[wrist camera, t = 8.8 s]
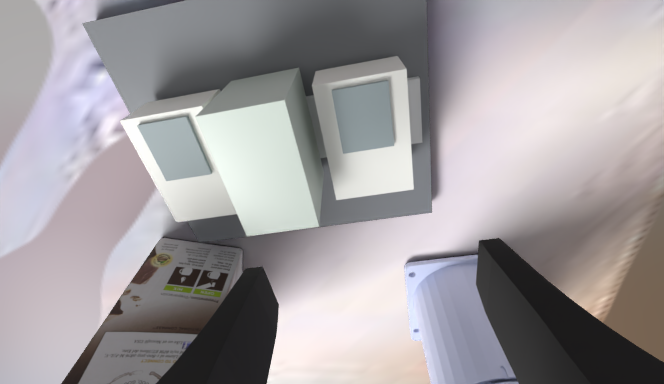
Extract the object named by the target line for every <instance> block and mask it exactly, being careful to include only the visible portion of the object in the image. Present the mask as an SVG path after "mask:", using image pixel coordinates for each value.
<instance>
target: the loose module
mask: <svg viewBox="0 0 664 384" xmlns="http://www.w3.org/2000/svg"><path fill="white" fill-rule="evenodd" d="M195 118H196V120H197V123H198V125H199V127H200V130H201V132H202V134H203V136H204V139H205V141H206V143H207V146H208V148H209V150H210V153H211V155H212V157H213V159H214V162H215V164H216V166H217V169H218V171H219V173H220V176H221V178H222V180H223V183H224V185H225V187H226V189H227V192H228V194H229V196H230V199H231V201H232V203H233V206H234V208H235V210H236V213H237V215H238V217H239V219H240V222H241V224H242V226H243V229H244V231H245V233H246V236H247V237H248V236H255V235H262V234H269V233H277V232H284V231H291V230H299V229H306V228H313V227H319V224H320V212H321V200H322V188H323V176H324V171H323V167H322V163H321V158H320V154H319V150H318V146H317V141H316V137H315V133H314V129H313V125H312V120H311V116H310V112H309V108H308V103H307V99H306V95H305V91H304V87H303V82H302V78H301V74H300V70H299V68H294V69H289V70H284V71H279V72H274V73H269V74H264V75H259V76H254V77H249V78H244V79H239V80H234V81H231V82H230V83H229V84H228V85H227V86H226V87H225V88H224V89H223V90H222V91H221V92H220V93H219V94H218V95H217V96H216V97H215V98H214V99H213V100H212V101H211V102H209V103H208V104H207V105H206V106H205V107H204V108H203V109H202V110H201V111H200V112H199V113H198V114H197V115H196V116H195Z"/></svg>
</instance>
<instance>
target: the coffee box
mask: <svg viewBox="0 0 664 384" xmlns="http://www.w3.org/2000/svg"><path fill="white" fill-rule="evenodd" d="M242 259H243V251H242V249H239V248H233V247H226V246H218V245H212V244H204V243H197V242H190V241H183V240H176V239H169V238H162V239H160V240H159V241H158V243H157V244H156V246H155V247H154V249H153V250H152V252H151V253H150V255H149V256H148V257H147V259H146V260H145V262H144V263H143V265H142V266H141V268H140V269H139V271H138V272H137V274H136V275H135V276H134V278H133V279H132V281H131V282H130V284H129V285H128V286H127V288H126V289H125V291H124V292H123V294H122V295H121V297H120V298H119V300H118V301H117V303H116V304H115V306H114V307H113V309H112V310H111V312H110V314H109V315H108V316H107V318H106V319H105V321H104V322H103V324H102V325H101V327H100V328H99V329H98V331H97V332H96V334H95V335H94V337H93V338H92V340H91V341H90V343H89V344H88V346H87V347H86V349H85V350H84V352H83V353H82V354H81V356H80V358H79V359H78V360H77V362H76V363H75V365H74V366H73V368H72V369H71V371H70V372H69V373H68V375H67V376H66V378H65V379H64V381H63V382H62V384H156V383H157V382H158V381H159V380H160V379H161V377H162V376H163V375H164V374H165V373H166V372H167V371H168V370H169V369H170V368H171V366H172V365H173V364H174V363H175V362H176V361H177V360H178V358H179V357H180V356H181V355H182V354H183V352H184V351H185V350H186V349H187V348H188V346H189V345H190V344H191V343H192V341H193V340H194V339H195V338H196V336H197V335H198V334H199V333H200V331H201V330H202V329H203V327H204V326H205V325H206V323H207V322H208V321H209V319H210V318H211V317H212V315H213V314H214V313H215V311H216V310H217V308H218V307H219V306H220V304H221V303H222V302H223V300H224V299H225V297H226V296H227V294H228V293H229V292H230V290H231V289H232V287H233V286H234V284H235V283H236V282H237V280H238V279H239V277H240V276H241V275H242Z"/></svg>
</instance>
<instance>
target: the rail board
mask: <svg viewBox="0 0 664 384" xmlns="http://www.w3.org/2000/svg"><path fill="white" fill-rule="evenodd" d="M82 24H83V26H84V28H85V30H86V31H87V33H88V35H89V37H90V39H91V41H92V43H93V45H94V47H95V48H96V50H97V52H98V54H99V56H100V58H101V60H102V62H103V63H104V65H105V67H106V69H107V71H108V73H109V75H110V77H111V78H112V80H113V82H114V84H115V86H116V88H117V90H118V92H119V94H120V95H121V97H122V99H123V101H124V103H125V105H126V107H127V109H128V110H129V112H130V114H129V115H128V116H126V117H125V118H123V119H122V120H120V122H121V124H122V125H123V127H124V129H125V131H126V133H127V134H128V136H129V138H130V140H131V142H132V143H133V145H134V147H135V149H136V151H137V152H138V154H139V156H140V157H141V160H142V161H143V163H144V165H145V167H146V169H147V170H148V172H149V174H150V176H151V177H152V179H153V181H154V183H155V185H156V187H157V188H158V190H159V192H160V194H161V196H162V197H163V199H164V201H165V203H166V205H167V206H168V208H169V210H170V212H171V214H172V215H173V217H174V219H175V221H176V222H183V221H188V223H189V225H190V227H191V229H192V231H193V233H194V235H195V237H196V238H197V240H198V242H199V243H201V242H209V241H217V240H224V239H232V238H240V237H247V236H246V233H245V231H244V229H243V226H242V224H241V222H240V219H239V217H238V215H237V213H236V210H235V208H234V206H233V203H232V201H231V199H230V196H229V194H228V192H227V189H226V187H225V185H224V183H223V180H222V178H221V176H220V173H219V171H218V169H217V166H216V164H215V162H214V159H213V157H212V155H211V153H210V150H209V148H208V146H207V143H206V141H205V139H204V136H203V134H202V132H201V130H200V127H199V125H198V123H197V120H196V118H195V116H196V115H197V114H198V113H199V112H200V111H201V110H202V109H203V108H204V107H205V106H206V105H207V104H208V103H209V102H211V101H212V100H213V99H214V98H215V97H216V96H217V95H218V94H219V93H220V92H221V91H222V90H223V89H224V88H225V87H226V86H227V85H228V84H229V83H230V82H231V81H234V80H239V79H244V78H249V77H254V76H259V75H264V74H269V73H274V72H279V71H284V70H289V69H294V68H299V70H300V74H301V78H302V82H303V87H304V91H305V95H306V99H307V103H308V108H309V112H310V116H311V120H312V125H313V129H314V133H315V137H316V141H317V146H318V150H319V154H320V158H321V163H322V167H323V171H324V176H323V188H322V200H321V212H320V224H319V227H324V226H332V225H340V224H347V223H355V222H363V221H370V220H378V219H386V218H394V217H401V216H409V215H417V214H424V213H432V194H431V155H430V117H429V78H428V39H427V1H426V0H185V1H181V2H176V3H172V4H167V5H163V6H158V7H154V8H149V9H145V10H140V11H136V12H131V13H127V14H122V15H118V16H113V17H109V18H104V19H100V20H95V21H91V22H86V23H82ZM313 228H317V227H313ZM306 229H309V228H306ZM299 230H301V229H299ZM291 231H294V230H291ZM284 232H286V231H284ZM277 233H278V232H277ZM269 234H270V233H269ZM262 235H263V234H262Z"/></svg>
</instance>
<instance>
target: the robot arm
mask: <svg viewBox="0 0 664 384" xmlns="http://www.w3.org/2000/svg"><path fill="white" fill-rule="evenodd" d="M404 270H405V281H406V292H407V302H408V313H409V324H410V335H411V339H413V340H415V341H418V340H422V345H423V350H424V354H425V359H426V363H427V368H428V372H429V377H430V381H431V384H664V362H662V361H660V360H659V359H657V358H655V357H654V356H652V355H650V354H649V353H647V352H646V351H644V350H642V349H641V348H639V347H638V346H636V345H635V344H633V343H632V342H630V341H629V340H627V339H626V338H624V337H622V336H621V335H620V334H618V333H617V332H615V331H613V330H612V329H611V328H609V327H608V326H606V325H605V324H604V323H602V322H601V321H599V320H598V319H597V318H595V317H594V316H592V315H591V314H590V313H588V312H587V311H586V310H584V309H583V308H582V307H580V306H579V305H578V304H576V303H575V302H574V301H573V300H571V299H570V298H569V297H567V296H566V295H565V294H564V293H562V292H561V291H560V290H559V289H557V288H556V287H555V286H554V285H553V284H551V283H550V282H549V281H548V280H546V279H545V278H544V277H543V276H542V275H540V274H539V273H538V272H537V271H536V270H535V269H533V268H532V267H531V266H530V265H529V264H528V263H527V262H525V261H524V260H523V259H522V258H521V257H520V256H519V255H518V254H516V253H515V252H514V251H513V250H512V249H511V248H510V247H509V246H508V245H506V244H505V243H504V242H503V241H502V240H501V239H499V238H497V239H489V240H480V241H479V248H478V255H469V256H460V257H451V258H442V259H434V260H425V261H416V262H409V263H407V264H406V265H405V266H404ZM412 272H413V273H412ZM278 307H279V304H278V302H277V300H276V297H275V295H274V293H273V290H272V288H271V285H270V283H269V281H268V278H267V276H266V273H265V271H264V269H263V267H255V268H247V269H245V270H244V272H243V273H242V275H241V276H240V277H239V279H238V280H237V282H236V283H235V284H234V286H233V287H232V289H231V290H230V292H229V293H228V294H227V296H226V297H225V299H224V300H223V302H222V303H221V304H220V306H219V307H218V308H217V310H216V311H215V313H214V314H213V315H212V317H211V318H210V319H209V321H208V322H207V323H206V325H205V326H204V327H203V329H202V330H201V331H200V333H199V334H198V335H197V336H196V338H195V339H194V340H193V341H192V343H191V344H190V345H189V346H188V348H187V349H186V350H185V351H184V352H183V354H182V355H181V356H180V357H179V358H178V360H177V361H176V362H175V363H174V364H173V365H172V366H171V368H170V369H169V370H168V371H167V372H166V373H165V374H164V375H163V376H162V377H161V379H160V380H159V381H158V382H157V383H156V384H266V383H267V378H268V374H269V369H270V364H271V359H272V354H273V349H274V344H275V339H276V332H277V322H278Z"/></svg>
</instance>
